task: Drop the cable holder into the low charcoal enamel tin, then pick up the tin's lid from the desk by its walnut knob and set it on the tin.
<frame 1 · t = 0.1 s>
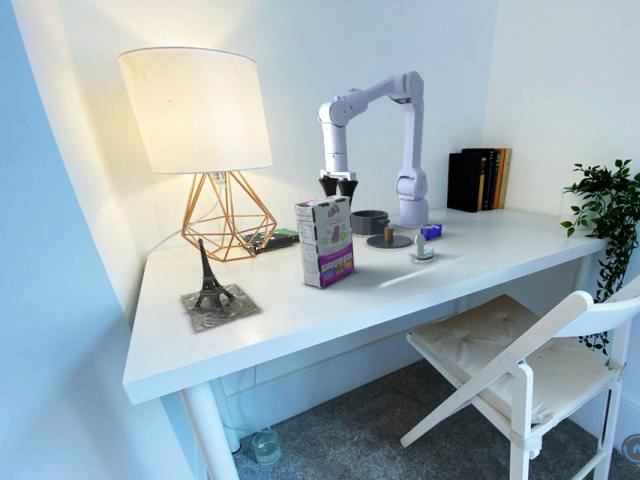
hand: (339, 205, 95), 10 cm above the table, tool pointing down, fingers open, 7 cm apart
eiffel tower figurine: (218, 306, 61), on the table
pacifier: (422, 261, 82), on the table
disk drive: (271, 245, 96), on the table
candy bar box: (330, 279, 72), on the table
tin: (369, 232, 107), on the table
lid: (388, 241, 95), point 1 cm above the table
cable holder: (428, 239, 99), on the table
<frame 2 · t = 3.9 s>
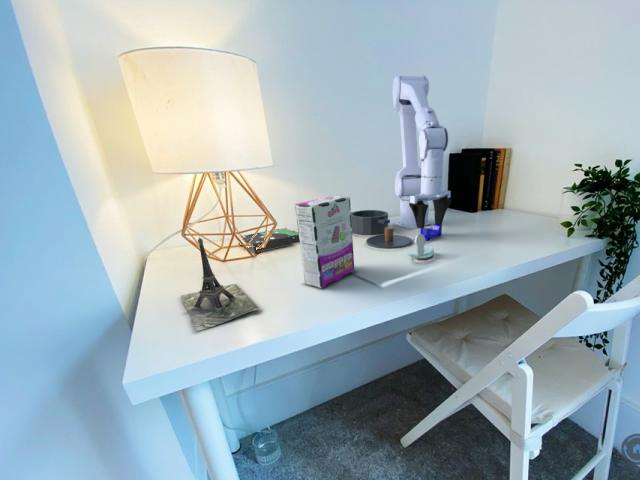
hand: (429, 226, 98), 4 cm above the table, tool pointing down, fingers closed on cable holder, 7 cm apart
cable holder: (428, 239, 99), on the table, touching gripper
everything else where it was.
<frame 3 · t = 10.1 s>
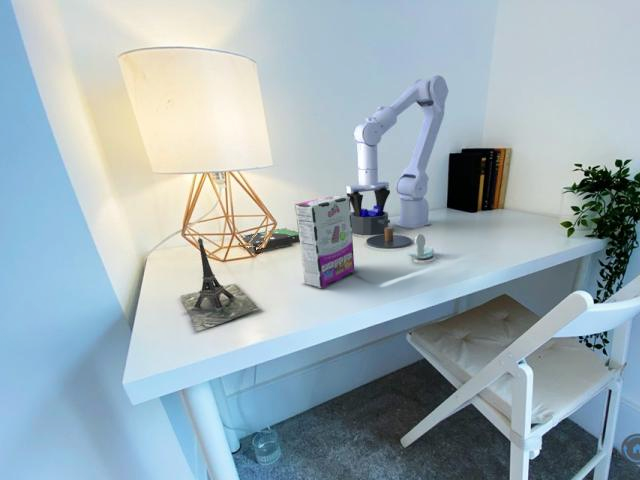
hand: (369, 215, 105), 5 cm above the table, tool pointing down, fingers closed on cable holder, 7 cm apart
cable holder: (369, 220, 106), point 4 cm above the table, touching gripper
everything else where it was.
when the fingers open (6 cm above the table, at t = 18.2 s): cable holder moves 1 cm, resting on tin.
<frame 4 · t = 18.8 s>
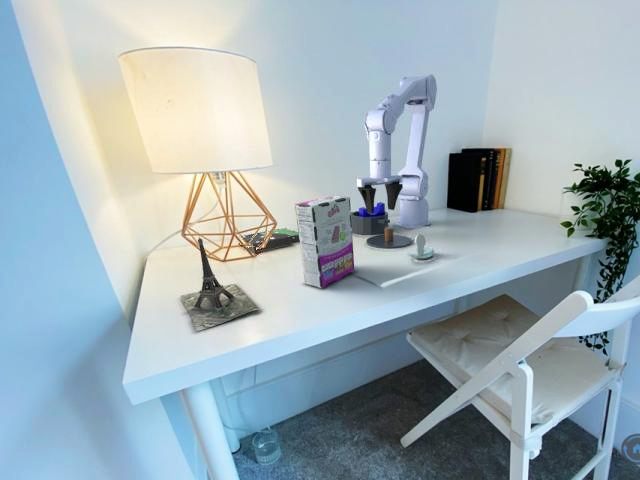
hand: (381, 211, 96), 8 cm above the table, tool pointing down, fingers open, 7 cm apart
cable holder: (371, 218, 105), point 5 cm above the table, touching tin
everything else where it was.
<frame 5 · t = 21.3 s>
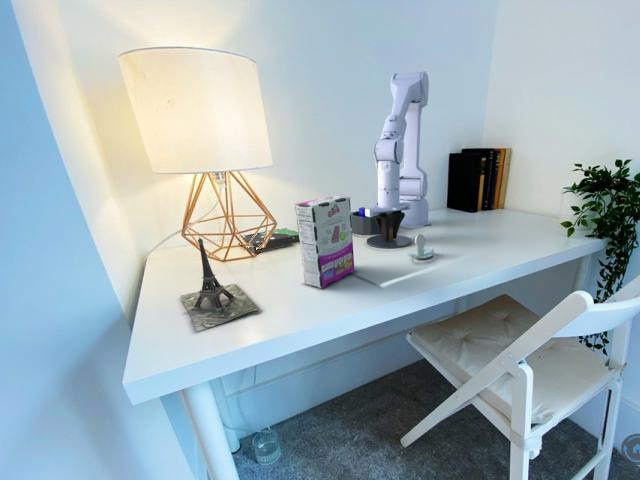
hand: (388, 239, 95), 1 cm above the table, tool pointing down, fingers closed on lid, 2 cm apart
lid: (389, 241, 95), point 1 cm above the table, touching gripper
everything else where it was.
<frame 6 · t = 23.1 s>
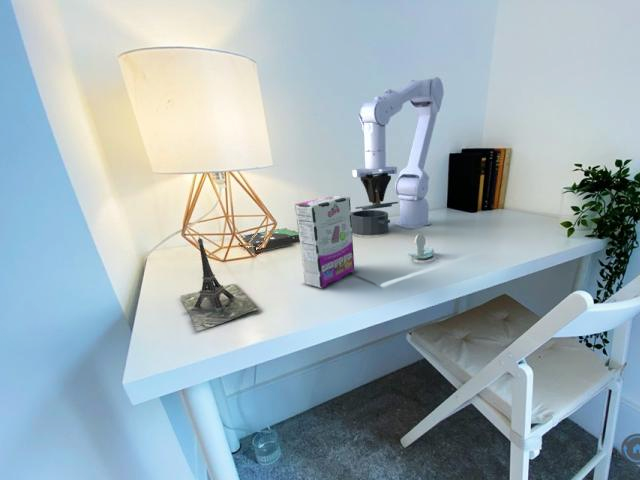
hand: (376, 201, 98), 10 cm above the table, tool pointing down, fingers closed on lid, 2 cm apart
lid: (376, 206, 99), point 9 cm above the table, tilted 12°, touching gripper
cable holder: (370, 230, 106), point 1 cm above the table, touching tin
everything else where it was.
when the fingers open (8 cm above the table, at t = 24.5 s): lid drops 1 cm, resting on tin.
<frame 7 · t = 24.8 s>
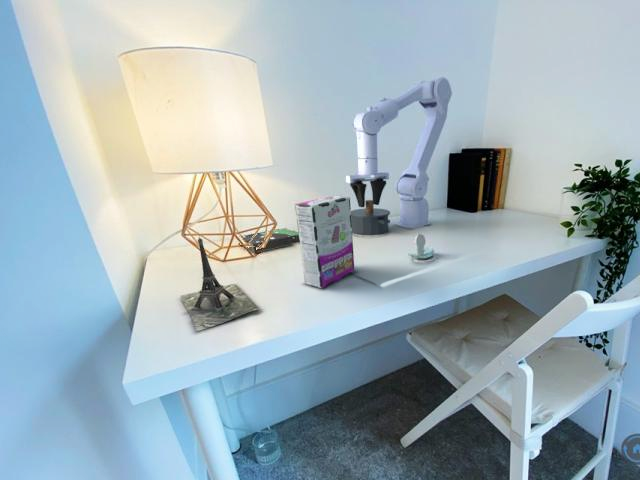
hand: (368, 205, 104), 8 cm above the table, tool pointing down, fingers open, 5 cm apart
lid: (369, 213, 105), point 6 cm above the table, touching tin
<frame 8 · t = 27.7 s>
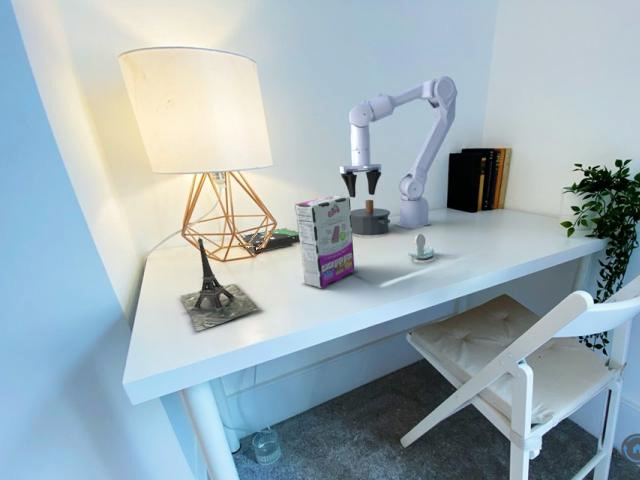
hand: (362, 195, 109), 10 cm above the table, tool pointing down, fingers open, 7 cm apart
nothing on the table moved.
at the end: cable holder inside the target area in the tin (0.9 cm from its centre), point 0.2 cm above the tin's base; lid 0.3 cm off-centre on the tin, point 5.9 cm above the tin's base; lid tilted 0° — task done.
